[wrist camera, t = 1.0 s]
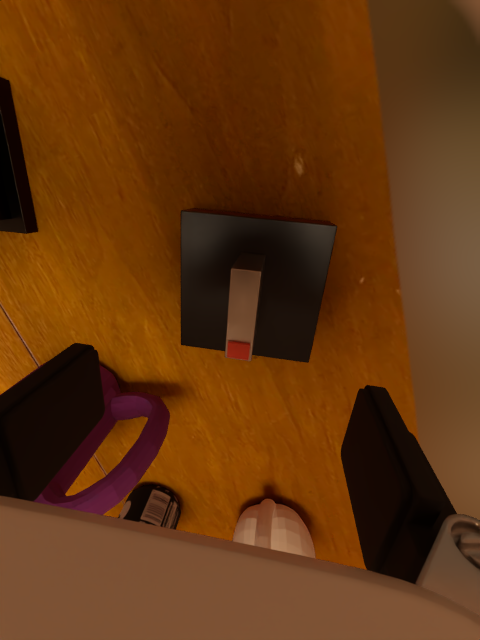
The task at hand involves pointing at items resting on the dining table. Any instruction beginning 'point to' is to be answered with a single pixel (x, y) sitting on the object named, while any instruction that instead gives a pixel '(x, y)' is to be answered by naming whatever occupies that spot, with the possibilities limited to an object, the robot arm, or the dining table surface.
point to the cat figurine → (274, 529)
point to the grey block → (244, 305)
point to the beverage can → (152, 507)
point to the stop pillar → (13, 171)
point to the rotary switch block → (277, 286)
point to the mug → (126, 471)
